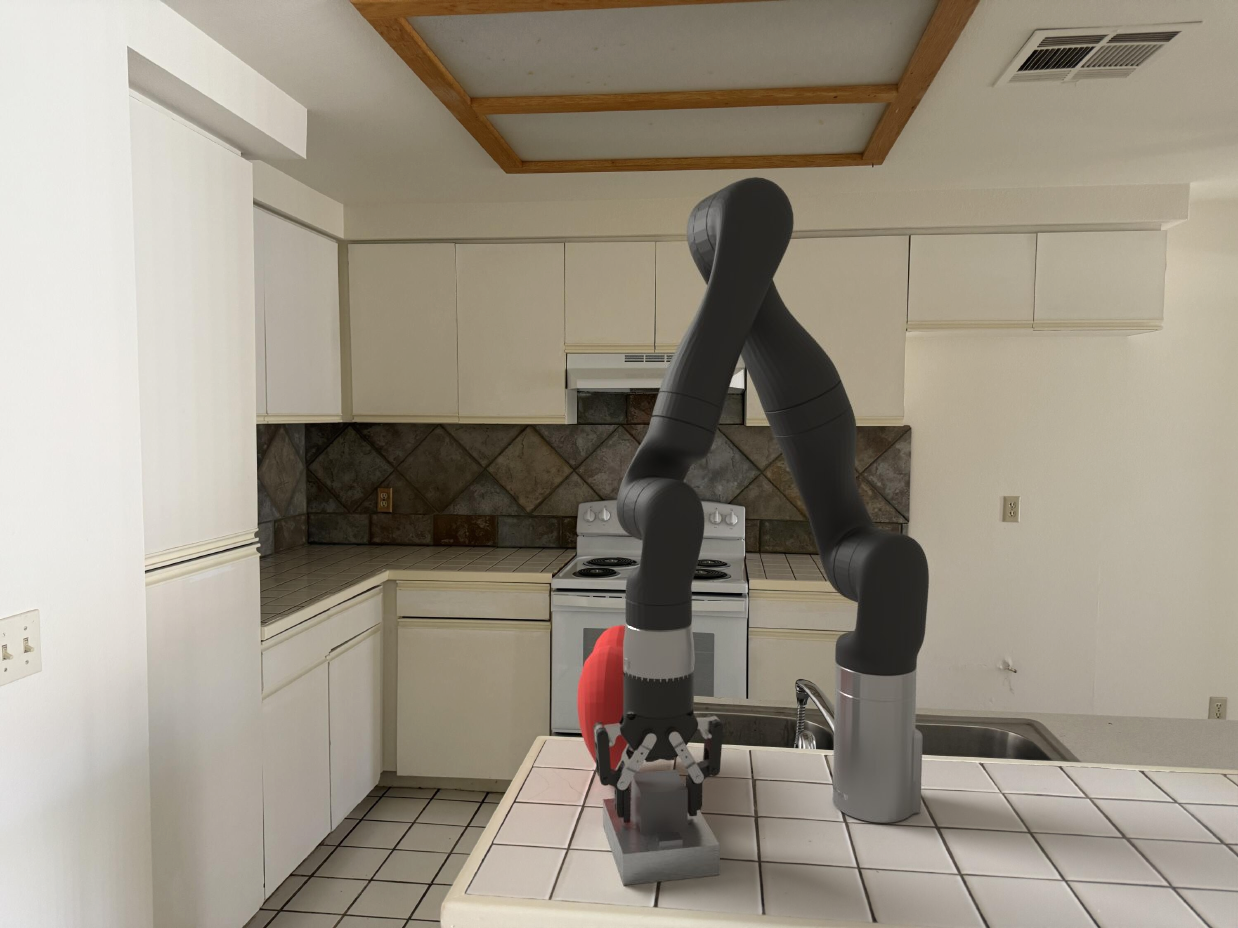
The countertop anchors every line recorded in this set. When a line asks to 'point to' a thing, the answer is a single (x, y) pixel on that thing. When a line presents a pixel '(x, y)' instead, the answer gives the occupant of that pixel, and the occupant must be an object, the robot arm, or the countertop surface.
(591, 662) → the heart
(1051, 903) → the countertop surface
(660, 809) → the plug
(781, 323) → the robot arm
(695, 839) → the socket plate
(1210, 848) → the countertop surface
